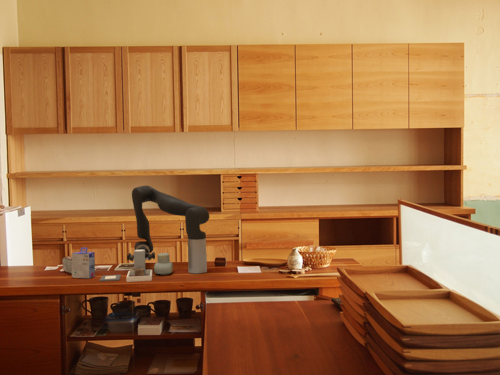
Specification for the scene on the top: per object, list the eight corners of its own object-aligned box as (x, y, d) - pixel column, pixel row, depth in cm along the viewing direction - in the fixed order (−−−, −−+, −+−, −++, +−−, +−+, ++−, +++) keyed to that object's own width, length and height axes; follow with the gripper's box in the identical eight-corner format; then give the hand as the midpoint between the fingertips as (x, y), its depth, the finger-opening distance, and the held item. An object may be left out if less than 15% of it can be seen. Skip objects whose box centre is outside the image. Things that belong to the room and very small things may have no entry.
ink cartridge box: (95, 276, 228) (95, 247, 228) (89, 278, 223) (88, 249, 222) (78, 275, 230) (77, 246, 230) (71, 278, 225) (70, 248, 224)
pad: (121, 275, 228) (120, 274, 228) (119, 280, 219) (119, 279, 219) (102, 276, 226) (102, 275, 226) (99, 281, 217) (99, 280, 217)
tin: (80, 274, 231) (80, 258, 231) (74, 276, 229) (74, 259, 228) (67, 270, 241) (66, 254, 241) (61, 271, 239) (60, 255, 239)
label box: (145, 275, 229) (144, 249, 228) (145, 277, 224) (144, 251, 223) (135, 275, 228) (134, 249, 227) (134, 278, 223) (133, 251, 223)
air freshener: (170, 276, 226) (169, 256, 226) (153, 276, 226) (153, 256, 226) (173, 270, 237) (173, 251, 237) (157, 271, 237) (157, 252, 236)
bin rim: (152, 273, 231) (152, 269, 231) (151, 280, 218) (151, 275, 218) (128, 275, 229) (128, 270, 229) (126, 281, 216) (126, 277, 216)
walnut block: (143, 278, 223) (143, 268, 223) (143, 280, 219) (143, 270, 219) (135, 278, 222) (135, 268, 222) (134, 280, 218) (134, 270, 218)
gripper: (128, 246, 246) (125, 252, 230) (155, 245, 249) (154, 250, 233) (128, 260, 247) (126, 267, 231) (155, 258, 249) (155, 265, 233)
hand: (140, 258), depth 232 cm, fingers open, 8 cm apart
